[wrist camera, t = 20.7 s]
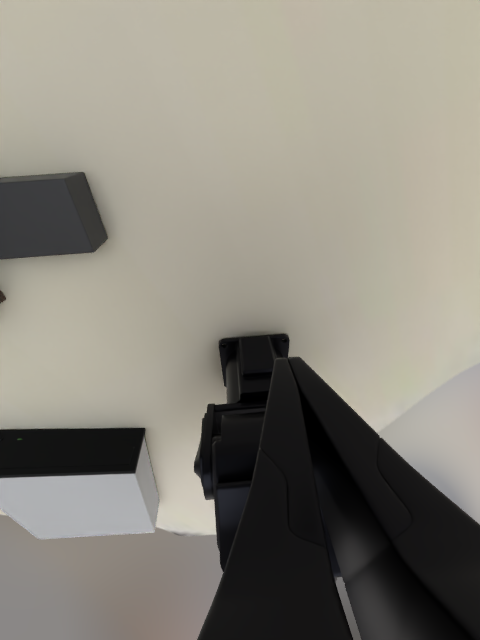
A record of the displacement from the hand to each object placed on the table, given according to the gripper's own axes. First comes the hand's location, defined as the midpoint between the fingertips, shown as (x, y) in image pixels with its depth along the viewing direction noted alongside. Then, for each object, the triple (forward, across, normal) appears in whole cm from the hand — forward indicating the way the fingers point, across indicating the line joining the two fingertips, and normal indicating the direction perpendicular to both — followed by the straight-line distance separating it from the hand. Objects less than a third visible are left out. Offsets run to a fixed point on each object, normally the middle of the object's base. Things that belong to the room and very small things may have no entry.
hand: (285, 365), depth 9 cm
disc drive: (+12, +24, +32) cm, 42 cm away
